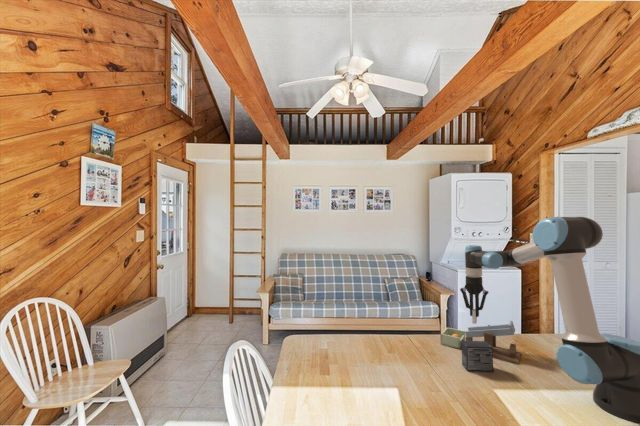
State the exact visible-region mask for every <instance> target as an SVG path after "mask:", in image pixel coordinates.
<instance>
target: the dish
mask: <svg viewBox="0 0 640 426" xmlns="http://www.w3.org/2000/svg"><path fill="white" fill-rule="evenodd" d="M453 334H458V335H459V336H460V338H459V337H454V336H452V335H453ZM462 341H466V334H465V330H461V329H457V328H452V327H447V326H446V327H445V328H444V329H443V331H442V332H441V333H440V346H441V345H442V346H445V347H449V348H454V349H458V350H461V347H462Z"/></svg>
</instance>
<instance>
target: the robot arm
mask: <svg viewBox="0 0 640 426" xmlns="http://www.w3.org/2000/svg"><path fill="white" fill-rule="evenodd" d="M603 235H604V234H603V229H602V226H600V224H599V223H598V222H597V221H595V220H594V219H592V218H589V217H584V216H552V217H546V218H543V219H541V220H540V221H538V222H537V223H536V225H535V226H534V228H533V231H532V241H531V242H528V243H526V244H523V245H521V246H517V247H515V248H513V249H508V250H494V251H492V250H491V251H489V250H483V248H482V246H481V245H478V244H476V245H475V244H474V245H473V244H470V245H469V244H467V245H466V246H465V249H464V257H465V258H464V259H465V262H464V263H465V264H464V265H465V285H464V286H463V287H461V288H460V289H459V291H460V292H461V293H462V297H463V301H464V305H465V308H466V309H469V316H470V317H472V319H471V321H472V324H474V325H476V324H477V322H478V319H477V318H479V317H480V311H482V310H483V309H484V305H485V303H486V299H487V295H488V294H489V291H488V290H486V289H484V286H483V268H488V269H492V270H496V269H499V268H502V267H503V268H504V267H505V268H506V267H507V268H508V267H522V266H524V265H526V263H530V262H532V261H538V260H540V259H543V258H546V259H547V260H549V261H550V264H551V269H552V273H553V279H554V282H555V286H556V291H557V296H558V301H559V306H560V310H561V315H562V321H563V324H564V329H565V332H564V333H563V334H562V335H561V343H562V345H561V346H559V347H558V348H557V350H556V360H557V363H558V365H559V367H560V368H561V369H562V371H563V372H564V373H565V374H566V375H567V376H568V377H569V378H570V379H572V380H573V381H575V382H576V383H580V384H583V385H595V386H594V389H593V391H592V400H593V402H594V404H596V406H598V407H599V408H600V409H602V410H603V411H605V412H607V413H608V414H611V415H614V416H616V417H618V418H621V419H624V420H627V421H629V422H635V423H638V424H639V423H640V341H636V340H633V339H631V338H627V337H624V336H620V335H615V334H609V333H600V330H599V327H598V322H597V318H596V313H595V310H594V306H593V300H592V296H591V292H590V287H589V284H588V279H587V275H586V271H585V267H584V262H583V258H584V257H585V256H586V255H587V249H591V248H594V247H596V246H597V245H599V244H600V243H601V241H602V239H603ZM467 293H468V294H469V295H468V296H469V299H468V296H467ZM481 293H482V297H481V301H480V298H479V297H480V294H481ZM474 302H475V303H474ZM474 304H475V306H474ZM474 307H475V308H474Z"/></svg>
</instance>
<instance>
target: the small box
mask: <svg viewBox="0 0 640 426" xmlns="http://www.w3.org/2000/svg"><path fill="white" fill-rule="evenodd" d="M493 359H494V358H493V347H492V346H491V345H490V344H489V343H488V342H487V341H484V340H473V341H466V340H465V341H462V350H461V365H462V366H463V369H465V371H466V372H473V373H474V372H476V373H478V372H479V373H480V372H481V373H494V360H493Z"/></svg>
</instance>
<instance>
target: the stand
mask: <svg viewBox="0 0 640 426" xmlns="http://www.w3.org/2000/svg"><path fill="white" fill-rule="evenodd" d="M487 326H492V325H490V324H487ZM473 338H474V337H470V338H467V337H466V336H465V341H474V339H473ZM483 341H487V342H488V343H489V344H490V345H491V346H492V347H493V359H498V360H502V361H506V362H510V363H514V364H519V363H520V358H521V352H519V351H517V344H516V343H510V344H509V349H507V348H503V347H498V346H497V336H493V333H490V332H484V337H483ZM460 350H461V351H462V347H461V349H460Z"/></svg>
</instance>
